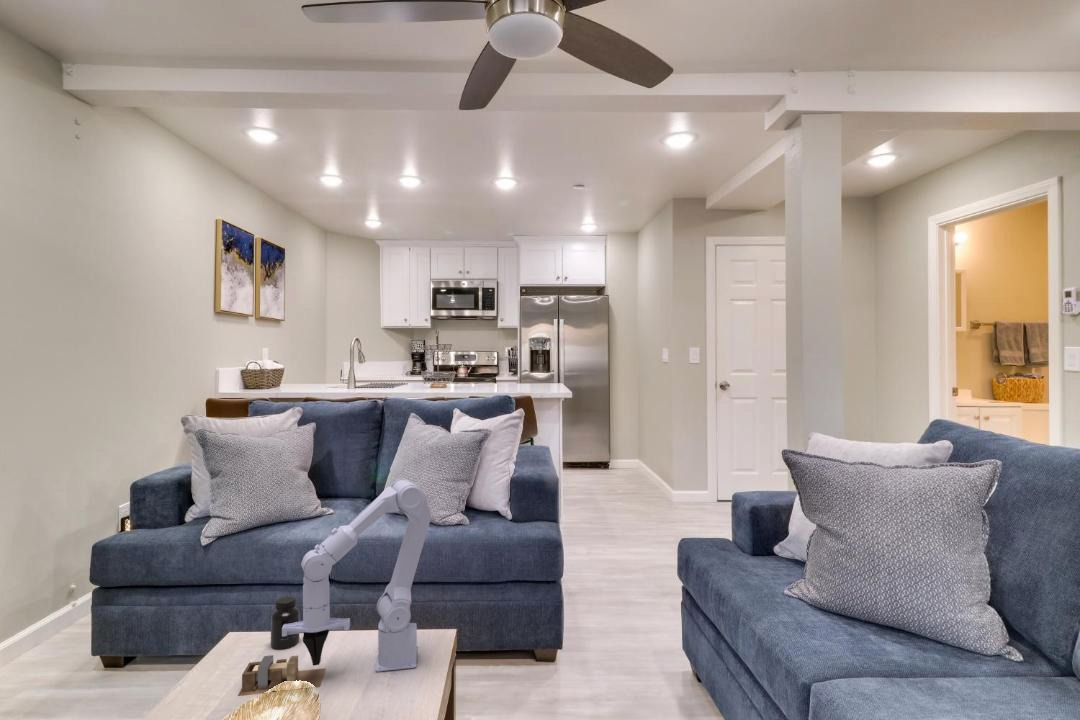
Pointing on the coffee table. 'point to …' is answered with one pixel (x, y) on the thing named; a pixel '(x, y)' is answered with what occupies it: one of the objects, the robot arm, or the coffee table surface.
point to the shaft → (284, 669)
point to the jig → (276, 678)
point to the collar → (264, 672)
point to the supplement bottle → (281, 616)
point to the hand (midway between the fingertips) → (316, 663)
